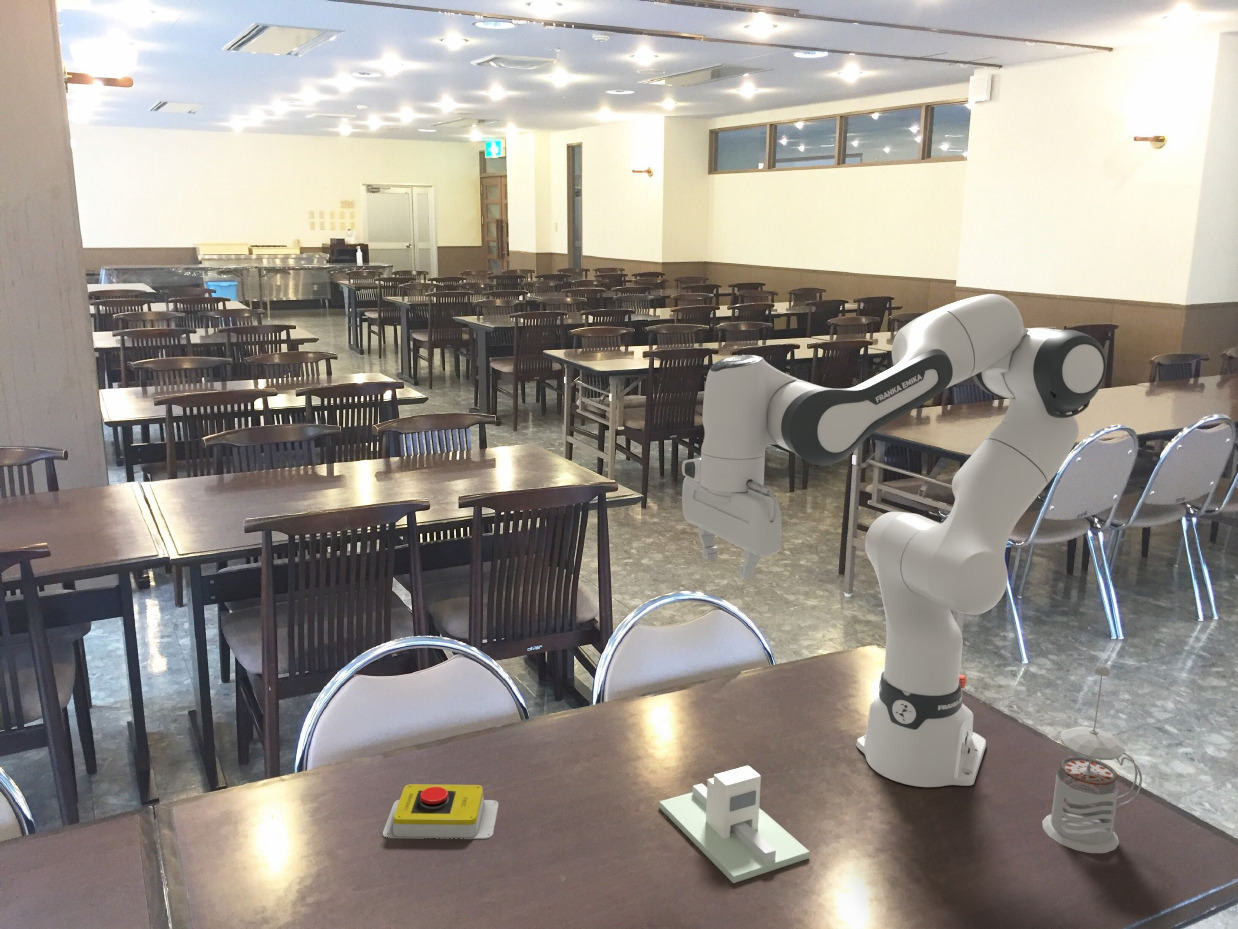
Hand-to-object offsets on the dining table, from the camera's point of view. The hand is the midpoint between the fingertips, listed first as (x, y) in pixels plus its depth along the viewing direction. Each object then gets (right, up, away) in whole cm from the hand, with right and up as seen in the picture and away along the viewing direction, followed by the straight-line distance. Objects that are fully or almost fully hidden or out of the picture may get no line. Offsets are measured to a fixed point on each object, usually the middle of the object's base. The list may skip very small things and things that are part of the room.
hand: (727, 568), depth 140 cm
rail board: (0, -36, -4) cm, 36 cm away
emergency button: (-40, -36, -2) cm, 54 cm away
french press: (+50, -37, -3) cm, 62 cm away
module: (0, -35, -4) cm, 35 cm away
